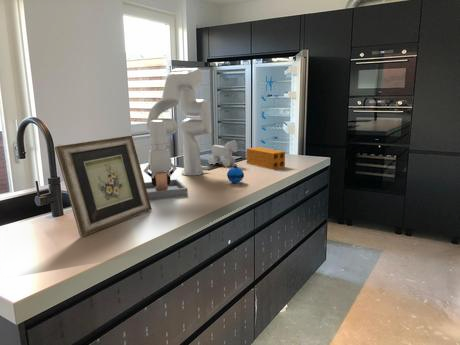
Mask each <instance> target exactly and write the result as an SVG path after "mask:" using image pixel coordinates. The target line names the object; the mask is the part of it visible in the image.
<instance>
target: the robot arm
mask: <svg viewBox="0 0 460 345" xmlns="http://www.w3.org/2000/svg"><path fill="white" fill-rule="evenodd" d="M203 78H204V77H203V72H202V70H201V69H200V68H197V67H193V68H190V67H189V68H185V67H183V68H173V69H172V70H170V72H169V74H167V76H166V77H165V82H164V87H163V92H162V96H161V98H160V99H159V100H158V101H157V102H156V103H155V104H154V105H153V106H152V107H151V109H150V110H149V113H148V117H147V121H146V130H147V132H148V133H149V140H150V141H149V142H150V150H149V151H148V165H147V166H145V168H144V169H143V173H146V175H148V176H149V177H150V179H151V182H152V185H153V186H154V187H155V186H156V182H155V177H154V176H155V173H156V172H162V171H166V172H167V180H168V185H170V183H171V181H170V180H171V176H172V175H173V173H175V171H176V170H177V166H176V165H174V164H173V163H172V159H171V153H170V150H169V149H168V148H171V143H168V137H167V136H168V135H173V134H175V133H176V132H177V131H178V128H179V127H178V123H177V121H176V120H175V119H173V118H164V117H161V118H159V116H160V115H161V114H163V113H164V112H166V111H168V110H170V109H173V108H175V107H176V106H178V105H179V104H180V108H181V114H182V115H183V116H185V117H193V118H186V119H183V120H181V122H180V132H181V137H182V152H183V170H181V174H182V175H183V176H201V175H203V174H204V170H209V165H204V166H203V165H201V147H200V145H201V144H200V141H199V139H198V138H197V137H202V136H203V137H205V136H207V137H208V136H209V135H211V133H212V117H211V106H210V103H209V101H208V100H206V99H204V98H203V99H202V98H201V99H198V98H197V97H196V89H195V88H197V87H198V86H200V85H201V84H202V81H203ZM199 117H200V118H199Z"/></svg>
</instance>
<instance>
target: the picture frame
mask: <svg viewBox="0 0 460 345" xmlns="http://www.w3.org/2000/svg"><path fill="white" fill-rule="evenodd" d="M54 150H55V154H56V157H57V160H58V164H59V167H60V168H59V169H60V172H61V174H62V178H63V180H64V181H63V182H64V184H65V185H64V186H65V188H66V192H67V196H68V199H69V203H70V205H71V206H70V207H71V209H72V213H73V217H74V220H75V224H76V227H77V230H78V235H79V237H82V238H83V237H84V236H86V235H90V234H93V233H95V232H97V231H100V230H102V229H105V228H108V227H111V226H113V225H116V224H118V223H120V222H121V223H122V222H123V221H125V220H129V219H131V218H133V217H136V216H139V215H141V214H144V213H146V212H149V211H152V209H153V208H152V205H151V200H149V197H148V193H147V190H146V186H145V179H144V174H143V171H142V169H141V168H142V167H141V164H140V161H139V156H138V152H137V150H136V146H135V142H134V139H133V135H126V136H119V137H112V138H106V139H98V140H90V141H86V142H85V141H84V142H79V143H70V144H64V145H57V146H54Z"/></svg>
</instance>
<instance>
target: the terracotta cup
mask: <svg viewBox="0 0 460 345" xmlns="http://www.w3.org/2000/svg"><path fill="white" fill-rule="evenodd" d="M154 177H155V182H156V186H155V190H157V191H163V190H167V189H168V180H167V172H166V171H162V172H156V173H155V176H154Z"/></svg>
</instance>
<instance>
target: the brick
mask: <svg viewBox="0 0 460 345" xmlns="http://www.w3.org/2000/svg"><path fill="white" fill-rule="evenodd" d="M246 164H248V165H252V166H256V167H260V168H265V169H269V170H277V169H282V168H284V169H285V168H286V151H285V150H284V151H282V150H277V149H271V148H266V147H260V146H258V147H256V146H255V147H249V148H246Z"/></svg>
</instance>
